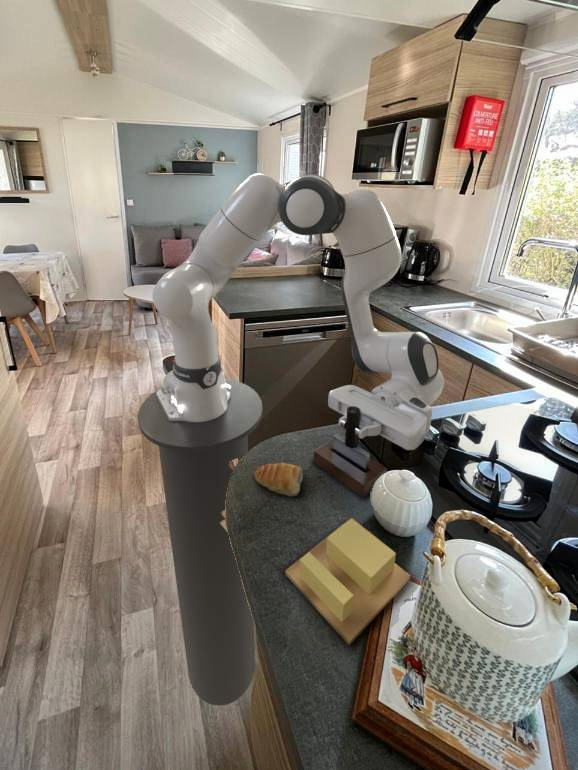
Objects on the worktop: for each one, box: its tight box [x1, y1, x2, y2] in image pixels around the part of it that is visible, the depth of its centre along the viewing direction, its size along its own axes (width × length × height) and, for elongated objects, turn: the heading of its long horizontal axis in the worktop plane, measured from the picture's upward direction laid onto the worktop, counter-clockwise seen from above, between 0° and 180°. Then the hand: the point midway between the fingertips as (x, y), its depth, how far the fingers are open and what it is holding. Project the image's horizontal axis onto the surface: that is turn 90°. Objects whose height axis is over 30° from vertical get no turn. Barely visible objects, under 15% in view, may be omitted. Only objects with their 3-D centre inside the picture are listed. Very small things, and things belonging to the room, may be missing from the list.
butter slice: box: [299, 551, 353, 622], centre depth 53 cm, size 8×2×4 cm, turn 37°
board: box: [284, 522, 411, 646], centre depth 57 cm, size 12×14×1 cm
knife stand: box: [313, 438, 388, 499], centre depth 77 cm, size 12×7×3 cm, turn 37°
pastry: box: [253, 461, 304, 497], centre depth 75 cm, size 9×7×4 cm
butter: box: [326, 517, 397, 595], centre depth 58 cm, size 8×6×4 cm
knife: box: [333, 406, 371, 472], centre depth 75 cm, size 8×2×12 cm, turn 37°
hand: (349, 429), depth 73 cm, fingers closed on knife, 2 cm apart
